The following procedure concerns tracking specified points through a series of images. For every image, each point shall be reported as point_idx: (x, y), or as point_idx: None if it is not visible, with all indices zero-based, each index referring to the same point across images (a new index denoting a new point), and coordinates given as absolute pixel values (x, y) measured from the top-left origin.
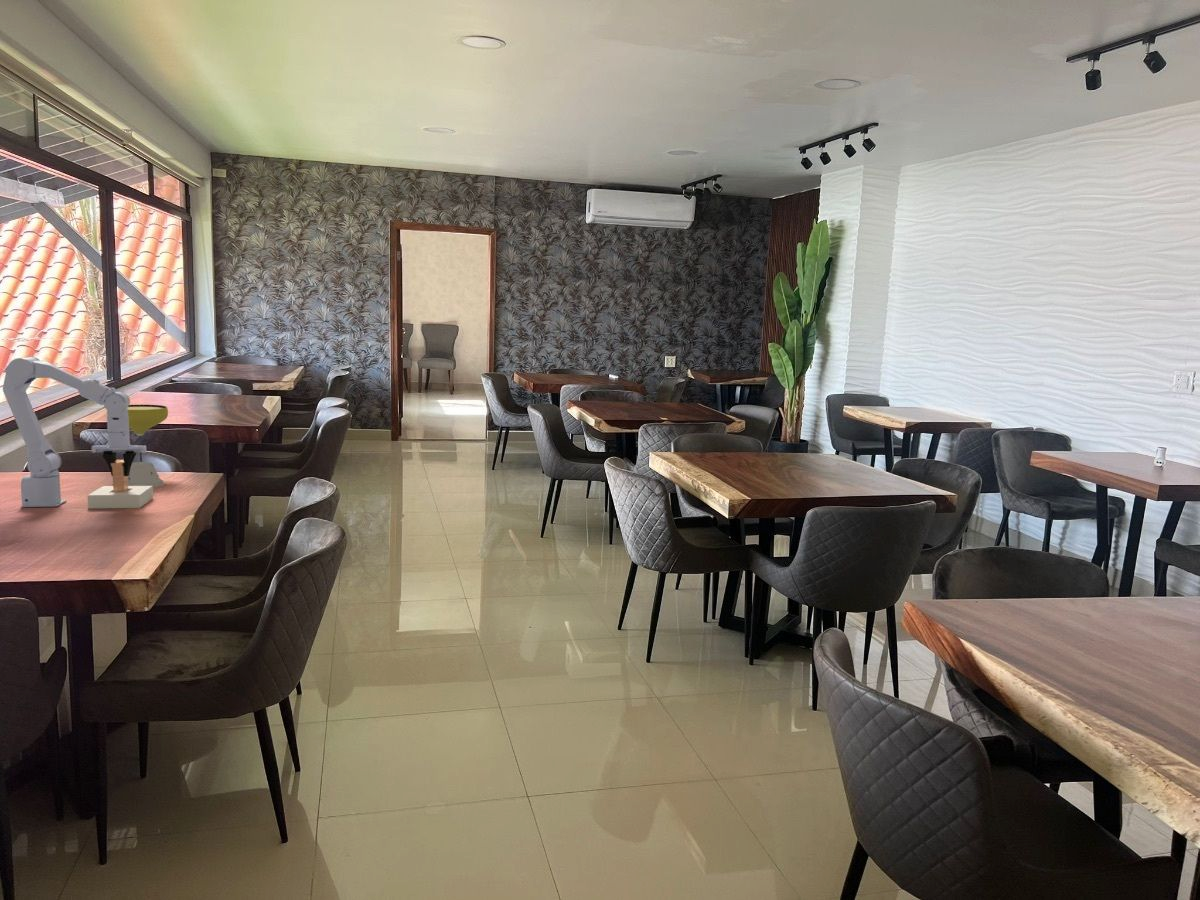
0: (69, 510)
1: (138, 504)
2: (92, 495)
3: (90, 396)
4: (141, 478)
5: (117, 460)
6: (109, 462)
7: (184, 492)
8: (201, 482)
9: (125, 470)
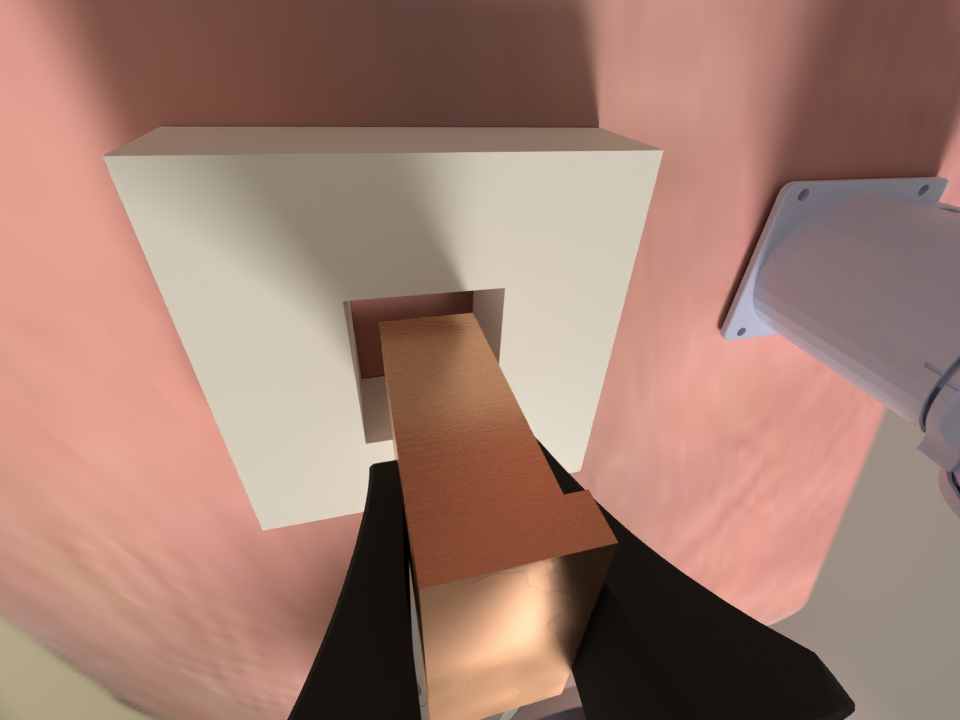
0: (720, 53)
1: (162, 130)
2: (621, 150)
3: None
4: None
5: (550, 675)
6: (641, 578)
7: (173, 587)
8: (231, 704)
9: (389, 516)
